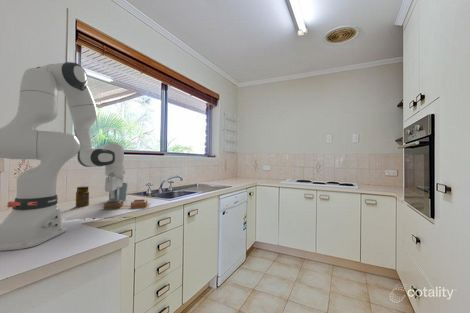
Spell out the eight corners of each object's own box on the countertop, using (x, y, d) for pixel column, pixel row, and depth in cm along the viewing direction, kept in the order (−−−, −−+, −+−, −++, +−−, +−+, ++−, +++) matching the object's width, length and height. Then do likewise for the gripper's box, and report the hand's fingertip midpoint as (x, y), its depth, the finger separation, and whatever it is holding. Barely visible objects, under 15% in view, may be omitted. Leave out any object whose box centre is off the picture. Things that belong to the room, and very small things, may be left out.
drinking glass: (106, 204, 131) (106, 184, 131) (111, 201, 141) (112, 182, 141) (124, 204, 134) (125, 184, 134) (128, 200, 143) (129, 182, 143)
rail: (148, 210, 118) (148, 202, 118) (98, 213, 112) (98, 204, 112) (150, 205, 130) (151, 198, 130) (106, 207, 124) (106, 199, 124)
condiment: (89, 206, 127) (89, 185, 127) (90, 209, 120) (91, 187, 120) (73, 208, 122) (73, 186, 122) (74, 211, 115) (74, 188, 115)
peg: (117, 207, 118) (117, 187, 118) (108, 207, 117) (109, 187, 117) (119, 205, 122) (119, 186, 122) (111, 205, 121) (111, 186, 121)
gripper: (115, 173, 110) (115, 200, 110) (125, 170, 130) (125, 194, 130) (101, 173, 109) (101, 201, 109) (113, 170, 128) (113, 194, 128)
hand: (114, 197), depth 119 cm, fingers closed on peg, 4 cm apart
